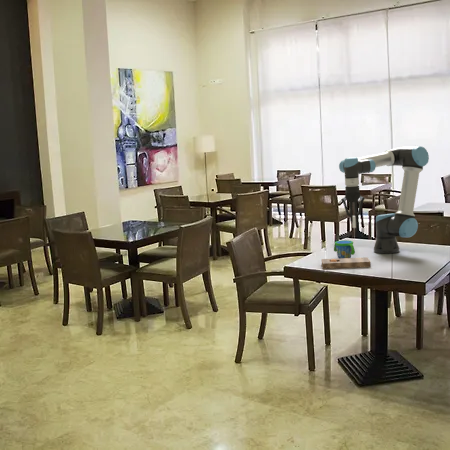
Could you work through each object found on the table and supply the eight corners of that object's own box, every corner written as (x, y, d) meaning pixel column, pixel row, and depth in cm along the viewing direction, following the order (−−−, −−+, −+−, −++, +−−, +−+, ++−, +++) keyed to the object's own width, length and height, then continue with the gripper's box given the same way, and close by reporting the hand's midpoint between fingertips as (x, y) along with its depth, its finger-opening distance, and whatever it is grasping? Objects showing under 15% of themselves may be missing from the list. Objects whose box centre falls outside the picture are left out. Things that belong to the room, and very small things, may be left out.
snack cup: (359, 259, 340) (359, 242, 339) (345, 262, 336) (344, 244, 334) (343, 255, 354) (343, 239, 353) (329, 257, 350) (328, 241, 348)
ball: (338, 262, 328) (334, 257, 328) (338, 264, 324) (334, 258, 324) (332, 266, 329) (328, 261, 329) (332, 268, 325) (328, 262, 325)
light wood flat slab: (367, 262, 331) (367, 257, 330) (370, 267, 319) (370, 261, 318) (321, 264, 334) (321, 259, 333) (322, 268, 322) (322, 263, 322)
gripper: (341, 187, 319) (343, 229, 322) (365, 185, 317) (367, 227, 321) (339, 185, 326) (341, 227, 330) (363, 184, 325) (365, 225, 328)
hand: (354, 227), depth 325 cm, fingers closed
